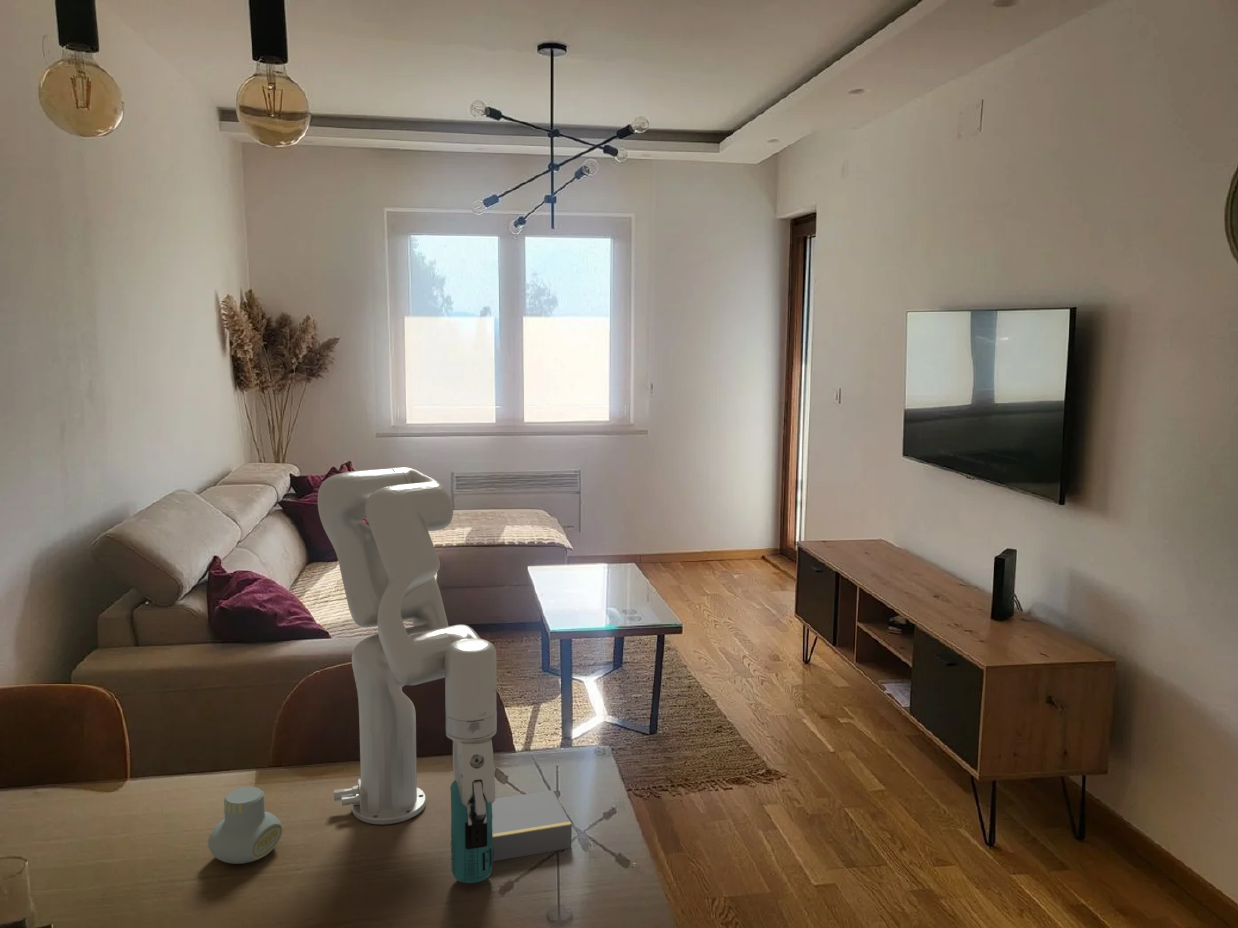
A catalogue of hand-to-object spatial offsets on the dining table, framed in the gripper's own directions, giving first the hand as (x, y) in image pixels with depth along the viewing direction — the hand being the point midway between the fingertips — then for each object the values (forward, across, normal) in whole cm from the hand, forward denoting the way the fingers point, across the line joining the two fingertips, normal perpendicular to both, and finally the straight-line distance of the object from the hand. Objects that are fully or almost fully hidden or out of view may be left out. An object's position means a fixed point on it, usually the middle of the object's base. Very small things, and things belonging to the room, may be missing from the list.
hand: (471, 833), depth 139 cm
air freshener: (+8, +18, +33) cm, 38 cm away
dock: (+8, +10, -10) cm, 16 cm away
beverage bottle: (+8, 0, 0) cm, 8 cm away
